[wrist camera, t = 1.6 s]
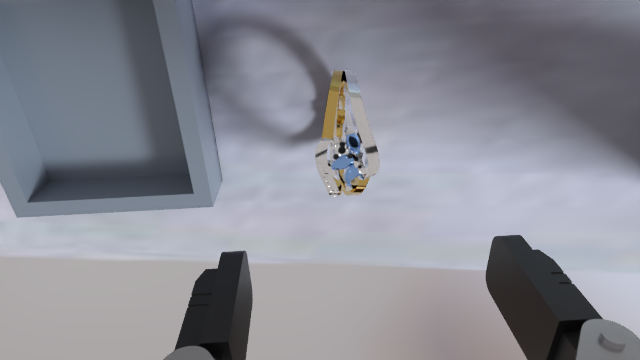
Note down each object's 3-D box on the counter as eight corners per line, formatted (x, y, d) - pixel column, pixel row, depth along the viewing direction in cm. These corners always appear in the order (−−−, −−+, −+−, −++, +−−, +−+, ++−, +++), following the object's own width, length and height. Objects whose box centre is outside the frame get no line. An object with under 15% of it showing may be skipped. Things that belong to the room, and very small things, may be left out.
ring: (316, 54, 25) (322, 94, 18) (368, 58, 25) (394, 99, 18) (307, 158, 28) (310, 226, 21) (354, 161, 29) (371, 229, 22)
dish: (186, -31, 23) (168, -28, 20) (222, 179, 29) (213, 206, 26) (-38, -21, 22) (-92, -17, 19) (47, 189, 29) (16, 217, 26)
